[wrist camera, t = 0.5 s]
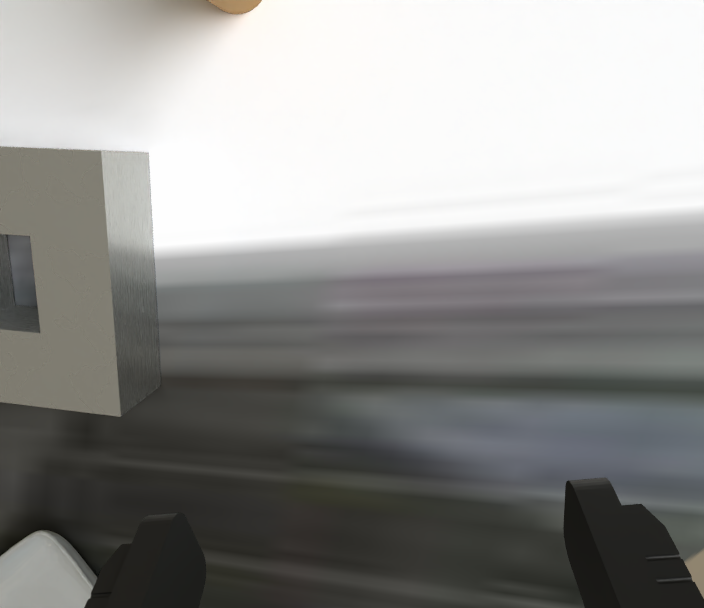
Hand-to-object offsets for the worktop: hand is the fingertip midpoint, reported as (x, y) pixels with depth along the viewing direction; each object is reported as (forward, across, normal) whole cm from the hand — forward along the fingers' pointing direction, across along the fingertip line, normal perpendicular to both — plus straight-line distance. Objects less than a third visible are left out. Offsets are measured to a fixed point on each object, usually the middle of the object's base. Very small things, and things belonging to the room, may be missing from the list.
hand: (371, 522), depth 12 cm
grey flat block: (+26, +23, +4) cm, 35 cm away
